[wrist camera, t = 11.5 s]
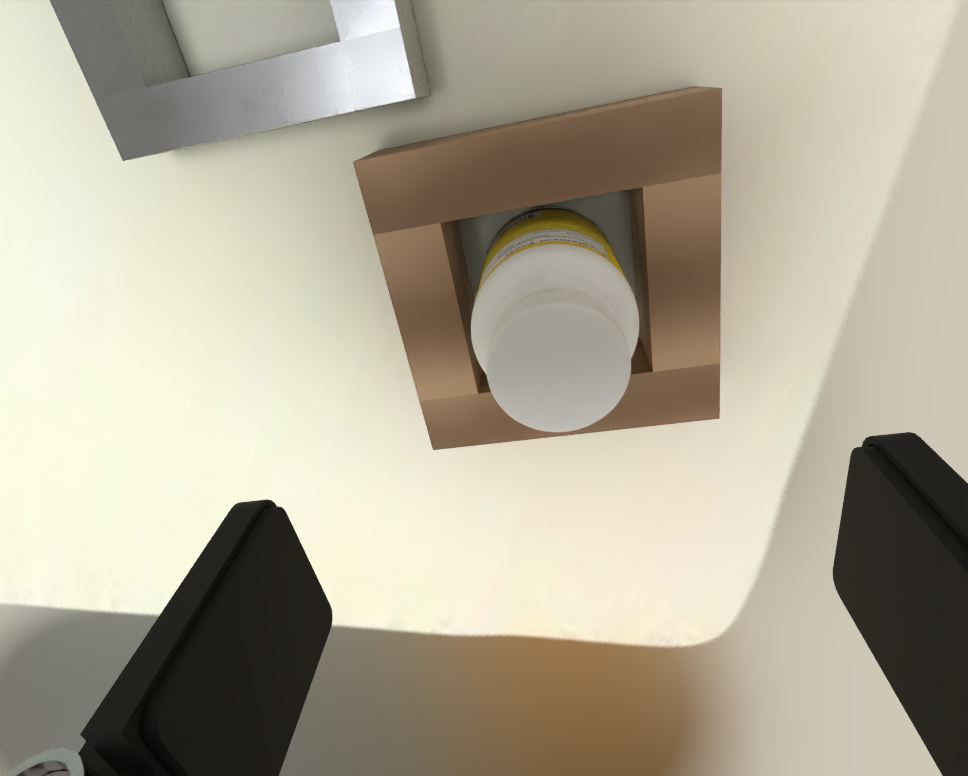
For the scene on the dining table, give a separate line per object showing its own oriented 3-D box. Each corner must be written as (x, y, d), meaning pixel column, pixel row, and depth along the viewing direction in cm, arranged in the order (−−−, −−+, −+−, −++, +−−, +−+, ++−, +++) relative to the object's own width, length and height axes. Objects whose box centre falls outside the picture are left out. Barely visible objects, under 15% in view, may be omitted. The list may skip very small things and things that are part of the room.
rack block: (378, 150, 22) (353, 162, 19) (694, 86, 20) (721, 88, 17) (444, 409, 28) (432, 450, 25) (697, 378, 26) (719, 418, 23)
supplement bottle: (593, 338, 25) (622, 470, 17) (475, 314, 25) (443, 435, 17) (630, 217, 23) (686, 302, 14) (498, 190, 23) (475, 259, 14)
